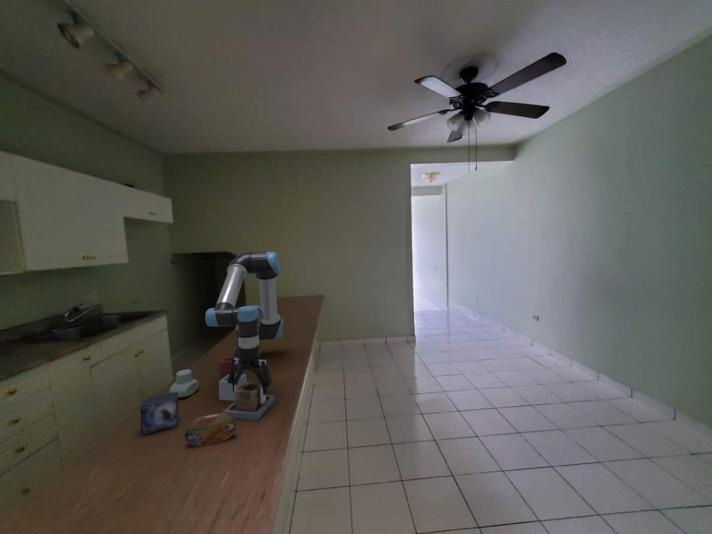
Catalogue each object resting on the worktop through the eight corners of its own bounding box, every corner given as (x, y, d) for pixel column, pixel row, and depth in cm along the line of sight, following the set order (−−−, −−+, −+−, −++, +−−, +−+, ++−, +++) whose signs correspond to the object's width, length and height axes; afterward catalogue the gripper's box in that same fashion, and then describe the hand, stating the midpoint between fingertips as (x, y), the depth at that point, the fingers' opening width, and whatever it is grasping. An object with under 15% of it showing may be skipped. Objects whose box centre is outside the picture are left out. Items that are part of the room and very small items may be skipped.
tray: (243, 398, 119) (243, 393, 119) (274, 401, 117) (274, 395, 117) (223, 418, 105) (223, 411, 105) (258, 421, 103) (258, 414, 103)
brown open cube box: (246, 400, 116) (246, 381, 115) (264, 402, 114) (264, 383, 114) (235, 411, 108) (235, 391, 107) (255, 413, 107) (254, 393, 106)
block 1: (230, 390, 126) (230, 373, 126) (246, 391, 125) (246, 374, 125) (219, 399, 118) (218, 381, 118) (236, 401, 117) (236, 382, 117)
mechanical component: (227, 389, 127) (213, 384, 132) (245, 380, 136) (231, 376, 141) (226, 362, 127) (212, 358, 131) (244, 355, 135) (230, 352, 140)
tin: (184, 448, 89) (183, 423, 88) (187, 442, 92) (186, 417, 91) (236, 438, 93) (235, 414, 93) (237, 433, 96) (236, 409, 96)
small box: (140, 436, 95) (139, 406, 94) (144, 426, 100) (143, 397, 100) (177, 427, 100) (176, 398, 99) (179, 418, 105) (178, 390, 105)
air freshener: (186, 387, 129) (185, 366, 129) (202, 389, 128) (201, 367, 127) (166, 399, 119) (165, 376, 118) (182, 401, 117) (181, 378, 116)
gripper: (216, 347, 108) (218, 404, 109) (272, 350, 104) (273, 408, 105) (227, 341, 115) (229, 394, 116) (280, 344, 112) (281, 398, 113)
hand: (250, 401), depth 111 cm, fingers open, 10 cm apart
